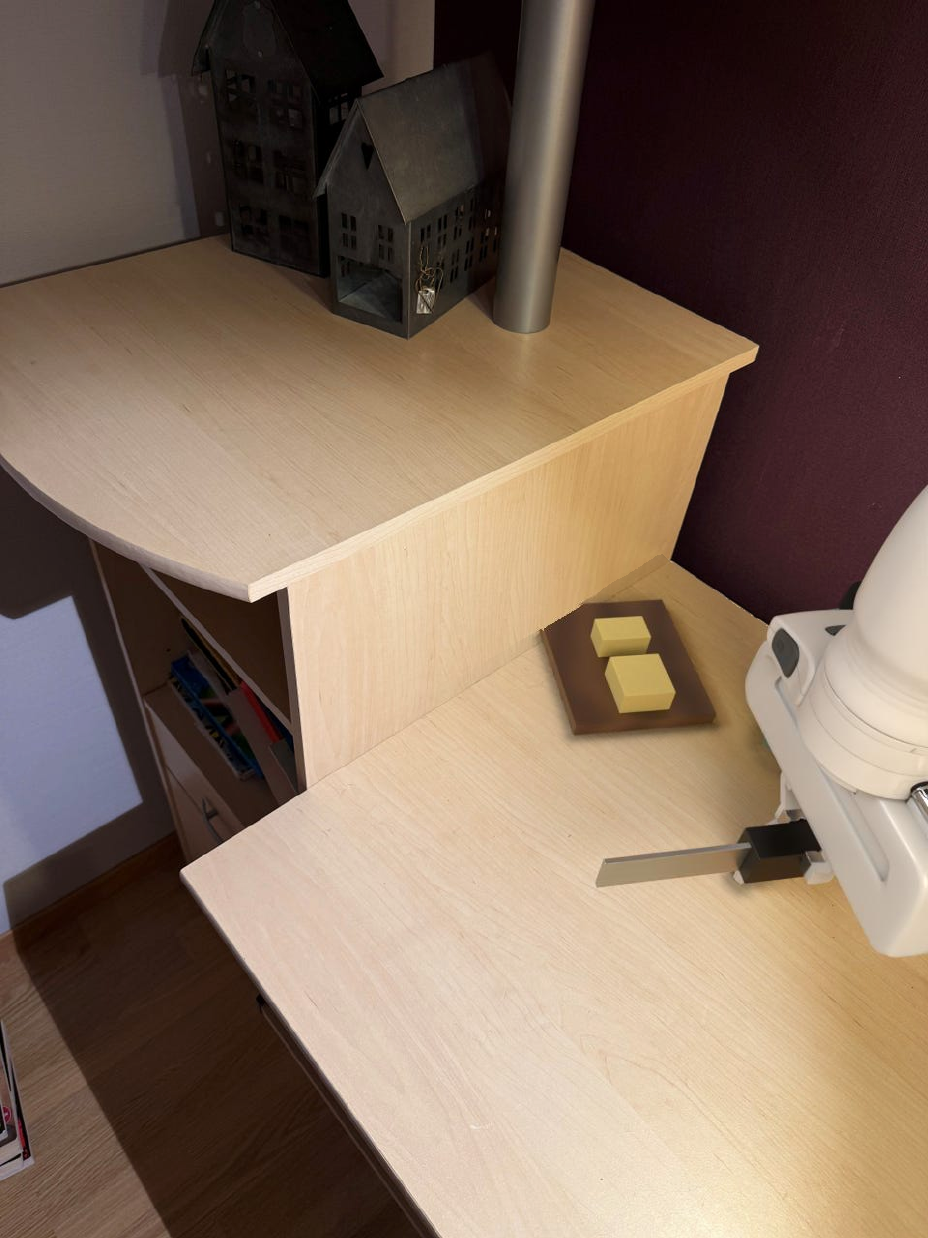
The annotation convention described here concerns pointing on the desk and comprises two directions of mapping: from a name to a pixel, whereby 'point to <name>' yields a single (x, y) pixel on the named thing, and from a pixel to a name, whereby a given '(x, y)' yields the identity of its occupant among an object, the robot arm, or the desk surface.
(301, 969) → the desk surface
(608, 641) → the butter pat
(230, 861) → the desk surface
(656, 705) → the butter stick
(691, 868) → the knife
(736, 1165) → the desk surface
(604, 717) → the board
